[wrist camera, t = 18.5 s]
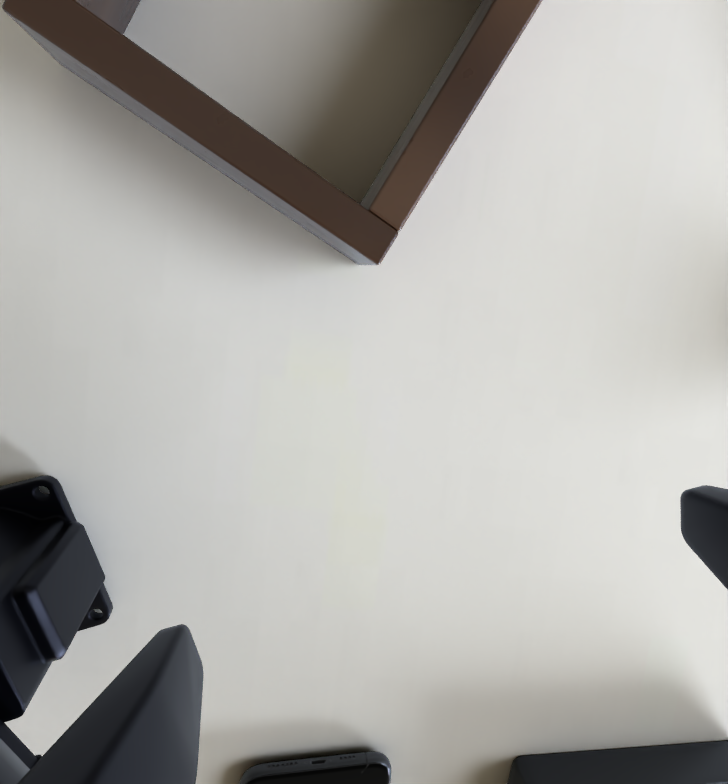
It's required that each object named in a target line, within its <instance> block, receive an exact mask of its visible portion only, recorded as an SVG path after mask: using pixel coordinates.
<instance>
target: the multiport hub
mask: <svg viewBox="0 0 728 784" xmlns="http://www.w3.org/2000/svg"><path fill="white" fill-rule="evenodd" d="M508 784H728V741H719V742H705V743H692V744H678V745H665V746H651V747H638V748H624V749H611V750H597V751H584V752H570V753H557V754H543V755H530V756H520V757H518V758H516V759H515V760H514V761H513V764H512V768H511V772H510V776H509V780H508Z"/></svg>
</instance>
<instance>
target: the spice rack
mask: <svg viewBox="0 0 728 784" xmlns="http://www.w3.org/2000/svg"><path fill="white" fill-rule="evenodd" d="M139 2H140V0H5V1H4V3H3V7H2V8H3V10H4V11H5V12H6V13H7V14H8V15H9V16H10V17H11V18H12V19H13V20H14V21H15V22H17V23H18V24H19V25H20V26H21V27H22V28H23V29H24V30H25V31H26V32H27V33H28V34H29V35H30V36H31V37H32V38H33V39H34V40H36V41H37V42H38V43H39V44H40V45H41V46H42V47H43V48H44V49H45V50H46V51H47V52H48V53H49V54H50V55H51V56H52V57H53V58H54V59H56V60H57V61H58V62H59V63H60V64H61V65H63V66H64V67H65V68H67V69H68V70H70V71H71V72H73V73H74V74H76V75H77V76H79V77H80V78H82V79H83V80H85V81H86V82H88V83H89V84H91V85H92V86H94V87H95V88H97V89H98V90H100V91H101V92H103V93H104V94H106V95H107V96H109V97H110V98H112V99H113V100H115V101H116V102H118V103H119V104H120V105H122V106H123V107H125V108H126V109H128V110H129V111H131V112H132V113H134V114H135V115H137V116H138V117H140V118H141V119H143V120H144V121H146V122H147V123H149V124H150V125H152V126H153V127H155V128H156V129H158V130H159V131H161V132H162V133H164V134H165V135H167V136H168V137H170V138H171V139H172V140H174V141H175V142H177V143H178V144H180V145H181V146H183V147H184V148H186V149H187V150H189V151H190V152H192V153H193V154H195V155H196V156H198V157H199V158H201V159H202V160H204V161H205V162H207V163H208V164H210V165H211V166H213V167H214V168H216V169H217V170H219V171H220V172H222V173H223V174H225V175H226V176H227V177H229V178H230V179H232V180H233V181H235V182H236V183H238V184H239V185H241V186H242V187H244V188H245V189H247V190H248V191H250V192H251V193H253V194H254V195H256V196H257V197H259V198H260V199H262V200H263V201H265V202H266V203H268V204H269V205H271V206H272V207H274V208H275V209H277V210H278V211H280V212H281V213H282V214H284V215H285V216H287V217H288V218H290V219H291V220H293V221H294V222H296V223H297V224H299V225H300V226H302V227H303V228H305V229H306V230H308V231H309V232H311V233H312V234H314V235H315V236H317V237H318V238H320V239H321V240H323V241H324V242H326V243H327V244H329V245H330V246H332V247H333V248H334V249H336V250H337V251H339V252H340V253H342V254H343V255H345V256H346V257H348V258H349V259H351V260H352V261H354V262H355V263H357V264H358V265H379V264H380V263H381V261H382V260H383V258H384V257H385V255H386V253H387V252H388V250H389V249H390V247H391V245H392V244H393V242H394V240H395V239H396V237H397V236H398V231H400V230H401V229H402V227H403V226H404V224H405V222H406V221H407V219H408V218H409V216H410V214H411V213H412V211H413V210H414V208H415V206H416V205H417V203H418V201H419V200H420V198H421V197H422V195H423V193H424V192H425V190H426V188H427V187H428V185H429V184H430V182H431V180H432V179H433V177H434V175H435V174H436V172H437V171H438V169H439V167H440V166H441V164H442V163H443V161H444V159H445V158H446V156H447V154H448V153H449V151H450V150H451V148H452V146H453V145H454V143H455V141H456V140H457V138H458V137H459V135H460V133H461V132H462V130H463V128H464V127H465V125H466V124H467V122H468V120H469V119H470V117H471V116H472V114H473V112H474V111H475V109H476V107H477V106H478V104H479V103H480V101H481V99H482V98H483V96H484V94H485V93H486V91H487V90H488V88H489V86H490V85H491V83H492V81H493V80H494V78H495V77H496V75H497V73H498V72H499V70H500V68H501V67H502V65H503V64H504V62H505V60H506V59H507V57H508V56H509V54H510V52H511V51H512V49H513V47H514V46H515V44H516V43H517V41H518V39H519V38H520V36H521V34H522V33H523V31H524V30H525V28H526V26H527V25H528V23H529V21H530V20H531V18H532V17H533V15H534V13H535V12H536V10H537V9H538V7H539V5H540V4H541V2H542V0H482V2H481V4H480V5H479V7H478V9H477V10H476V12H475V14H474V15H473V17H472V19H471V20H470V22H469V24H468V25H467V27H466V29H465V30H464V32H463V34H462V35H461V37H460V39H459V40H458V42H457V44H456V45H455V47H454V49H453V50H452V52H451V54H450V55H449V57H448V59H447V60H446V62H445V64H444V65H443V67H442V69H441V70H440V72H439V74H438V75H437V77H436V79H435V80H434V82H433V84H432V85H431V87H430V89H429V90H428V92H427V94H426V95H425V97H424V98H423V100H422V102H421V103H420V105H419V107H418V108H417V110H416V112H415V113H414V115H413V117H412V118H411V120H410V122H409V123H408V125H407V127H406V128H405V130H404V132H403V133H402V135H401V137H400V138H399V140H398V142H397V143H396V145H395V147H394V148H393V150H392V152H391V153H390V155H389V157H388V158H387V160H386V162H385V163H384V165H383V167H382V168H381V170H380V172H379V173H378V175H377V177H376V178H375V180H374V182H373V183H372V185H371V187H370V188H369V190H368V192H367V193H366V195H365V197H364V198H363V200H362V202H361V203H360V204H359V203H358V202H356V201H355V200H353V199H352V198H351V197H349V196H348V195H346V194H345V193H344V192H342V191H341V190H339V189H338V188H337V187H335V186H334V185H332V184H331V183H330V182H328V181H327V180H325V179H324V178H323V177H321V176H320V175H318V174H317V173H316V172H314V171H313V170H311V169H310V168H309V167H307V166H306V165H304V164H303V163H302V162H300V161H299V160H297V159H296V158H295V157H293V156H292V155H290V154H289V153H288V152H286V151H285V150H283V149H282V148H281V147H279V146H278V145H276V144H275V143H274V142H272V141H271V140H269V139H268V138H267V137H265V136H264V135H262V134H261V133H260V132H258V131H257V130H255V129H254V128H253V127H251V126H250V125H248V124H247V123H246V122H244V121H243V120H241V119H240V118H239V117H237V116H236V115H234V114H233V113H232V112H230V111H229V110H227V109H226V108H225V107H223V106H222V105H220V104H219V103H218V102H216V101H215V100H213V99H212V98H211V97H209V96H208V95H206V94H205V93H204V92H202V91H201V90H199V89H198V88H197V87H195V86H194V85H192V84H191V83H190V82H188V81H187V80H185V79H184V78H183V77H181V76H180V75H179V74H177V73H176V72H174V71H173V70H172V69H170V68H169V67H167V66H166V65H165V64H163V63H162V62H160V61H159V60H158V59H156V58H155V57H153V56H152V55H151V54H149V53H148V52H146V51H145V50H144V49H142V48H141V47H139V46H138V45H137V44H135V43H134V42H132V41H131V40H130V39H128V38H127V37H125V36H124V35H123V33H124V31H125V29H126V27H127V26H128V24H129V22H130V20H131V18H132V16H133V14H134V12H135V10H136V8H137V6H138V4H139Z"/></svg>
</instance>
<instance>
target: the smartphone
mask: <svg viewBox="0 0 728 784" xmlns="http://www.w3.org/2000/svg"><path fill="white" fill-rule="evenodd" d="M390 780H391V765H390V762H389V760H388V758H387V757H386V756H385V755H384V754H382V753H380V752H362V753H353V754H344V755H335V756H326V757H317V758H308V759H299V760H290V761H282V762H273V763H265V764H259V765H256V766H253V767H251V768H249V769H248V770H247V771H246V772H245V773H244V774H243V776H242V778H241V780H240V783H239V784H390Z"/></svg>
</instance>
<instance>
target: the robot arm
mask: <svg viewBox="0 0 728 784" xmlns="http://www.w3.org/2000/svg"><path fill="white" fill-rule="evenodd" d="M39 486H44V487H46V488H47V489H48V490H49V493H50V494H44V493H42V492H41V491H40V490H39ZM681 531H682V535H683V537H684V539H685V541H686V543H687V544H688V545H689V546H690V548H691V549H692V550H693V551H694V552H695V553H696V554H697V555H698V557H699V558H700V559H701V560H702V561H703V562H704V563H705V565H706V566H707V567H708V568H709V569H710V570H711V571H712V572H713V574H714V575H715V576H716V577H717V578H718V579H719V580H720V581H721V583H722V584H723V585H724V586H725V587H726V588H727V589H728V489H723V488H718V487H713V486H707V485H706V486H700V487H696V488H692V489H688V490H686V491H684V492H683V493H682V495H681ZM104 580H105V575H104V573H103V570H102V568H101V566H100V563H99V561H98V559H97V556H96V554H95V552H94V549H93V547H92V545H91V542H90V540H89V538H88V535H87V533H86V531H85V528H84V526H83V525H81V524H80V523H78V522H77V521H76V519H75V517H74V514H73V512H72V510H71V507H70V505H69V503H68V501H67V498H66V496H65V494H64V491H63V489H62V487H61V484H60V483H59V481H58V480H57V479H55V478H54V477H51V476H39V477H35V478H32V479H28V480H24V481H20V482H16V483H12V484H8V485H4V486H1V487H0V784H195V783H196V776H197V765H198V752H199V736H200V720H201V705H202V689H203V666H202V662H201V659H200V656H199V654H198V651H197V648H196V646H195V643H194V640H193V638H192V635H191V633H190V630H189V629H188V627H187V626H186V625H183V624H181V625H177V626H173V627H170V628H166V629H163V630H161V631H159V632H158V633H157V634H156V635H155V636H154V637H153V638H152V639H151V641H150V642H149V643H148V644H147V645H146V646H145V647H144V648H143V649H142V650H141V651H140V652H139V653H138V654H137V656H136V657H135V658H134V659H133V660H132V661H131V662H130V663H129V664H128V665H127V666H126V667H125V668H124V669H123V671H122V672H121V673H120V674H119V675H118V676H117V677H116V678H115V679H114V680H113V681H112V682H111V683H110V684H109V686H108V687H107V688H106V689H105V690H104V691H103V692H102V693H101V694H100V695H99V696H98V697H97V698H96V699H95V701H94V702H93V703H92V704H91V705H90V706H89V707H88V708H87V709H86V710H85V711H84V712H83V713H82V714H81V716H80V717H79V718H78V719H77V720H76V721H75V722H74V723H73V724H72V725H71V726H70V727H69V728H68V730H67V731H66V732H65V733H64V734H63V735H62V736H61V737H60V738H59V739H58V740H57V741H56V742H55V743H54V745H53V746H52V747H51V748H50V749H49V750H48V751H47V752H46V753H45V754H44V755H43V756H41V755H36V756H35V755H34V754H33V753H32V752H31V751H30V750H29V749H28V748H27V747H26V746H25V745H24V744H23V743H22V742H21V740H20V739H19V738H18V737H17V736H16V735H15V734H14V733H13V732H12V731H11V730H10V729H9V728H8V727H7V725H6V724H5V723H4V722H7V721H10V720H13V719H16V718H18V717H20V716H22V715H23V713H24V712H25V710H26V708H27V706H28V704H29V703H30V701H31V699H32V697H33V695H34V694H35V692H36V690H37V688H38V686H39V685H40V683H41V681H42V679H43V677H44V676H45V674H46V672H47V670H48V668H49V667H50V665H51V663H52V661H55V660H59V659H61V658H62V657H63V656H64V654H65V653H66V651H67V649H68V647H69V645H70V644H71V642H72V640H73V638H74V636H75V634H76V632H77V631H80V630H83V629H87V628H90V627H93V626H97V625H100V624H102V623H105V622H106V621H107V620H108V619H109V616H110V614H111V612H112V609H113V606H112V602H111V600H110V598H109V595H108V593H107V591H106V588H105V586H104V584H103V582H104ZM93 609H100V610H101V611H102V613H97V612H95V611H94V610H93Z"/></svg>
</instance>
